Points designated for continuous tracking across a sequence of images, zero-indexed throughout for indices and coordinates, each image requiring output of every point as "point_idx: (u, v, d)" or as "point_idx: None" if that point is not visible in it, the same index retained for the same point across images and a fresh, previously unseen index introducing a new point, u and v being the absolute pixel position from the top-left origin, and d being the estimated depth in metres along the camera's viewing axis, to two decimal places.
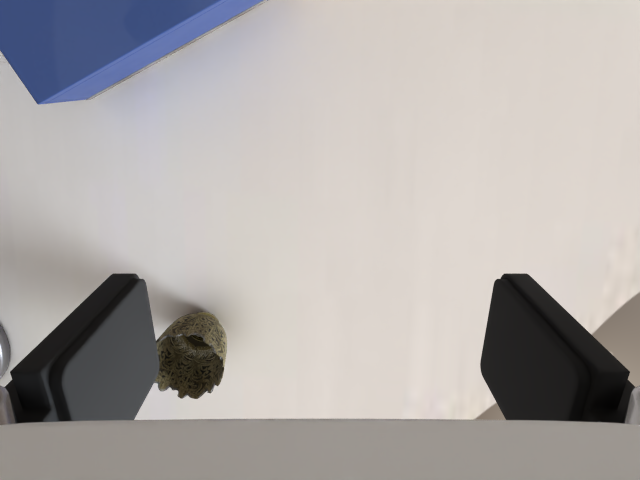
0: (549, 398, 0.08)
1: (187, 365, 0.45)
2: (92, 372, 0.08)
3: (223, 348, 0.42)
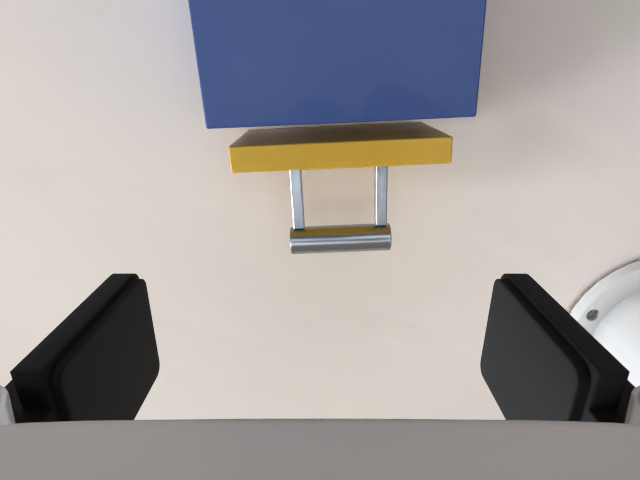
0: (549, 398, 0.08)
1: None
2: (92, 372, 0.08)
3: None
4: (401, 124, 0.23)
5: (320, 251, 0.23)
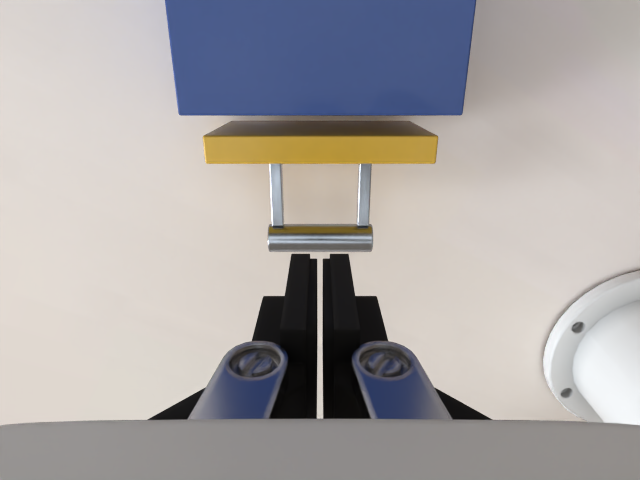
0: None
1: None
2: None
3: None
4: (388, 122, 0.22)
5: (299, 250, 0.22)
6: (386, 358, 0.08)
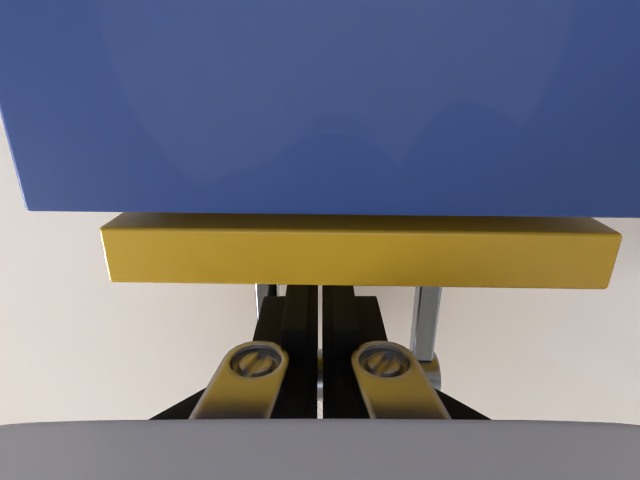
0: None
1: None
2: None
3: None
4: None
5: None
6: (386, 358, 0.08)
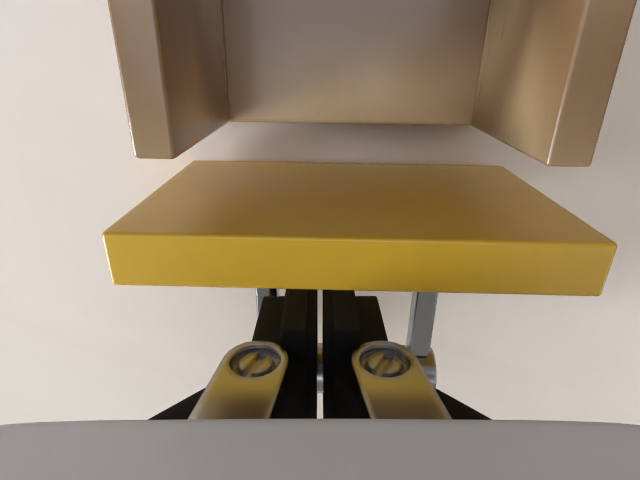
0: (323, 358, 0.09)
1: None
2: (316, 335, 0.09)
3: None
4: (468, 171, 0.13)
5: None
6: (386, 358, 0.08)
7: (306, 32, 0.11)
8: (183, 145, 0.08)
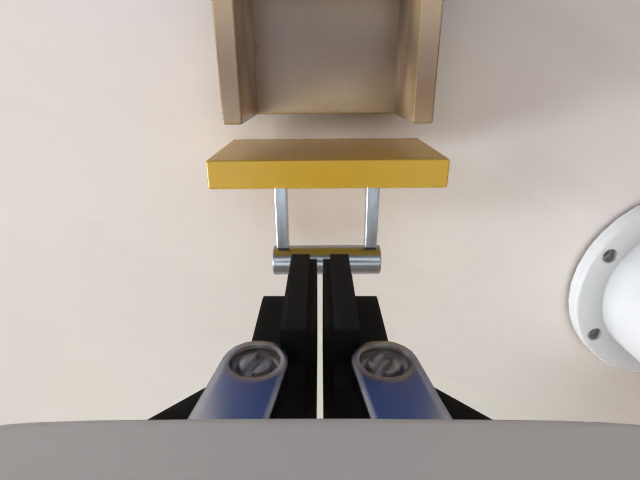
0: None
1: None
2: None
3: None
4: (396, 140, 0.22)
5: None
6: (386, 358, 0.08)
7: (300, 63, 0.20)
8: (244, 118, 0.17)
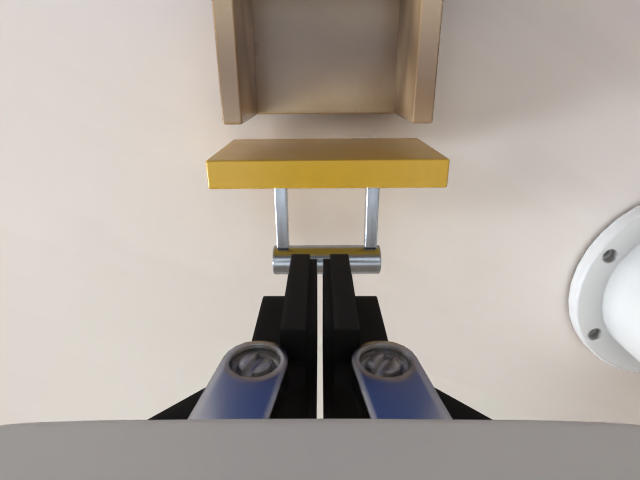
0: None
1: None
2: None
3: None
4: (396, 140, 0.22)
5: None
6: (386, 358, 0.08)
7: (300, 63, 0.20)
8: (244, 118, 0.17)
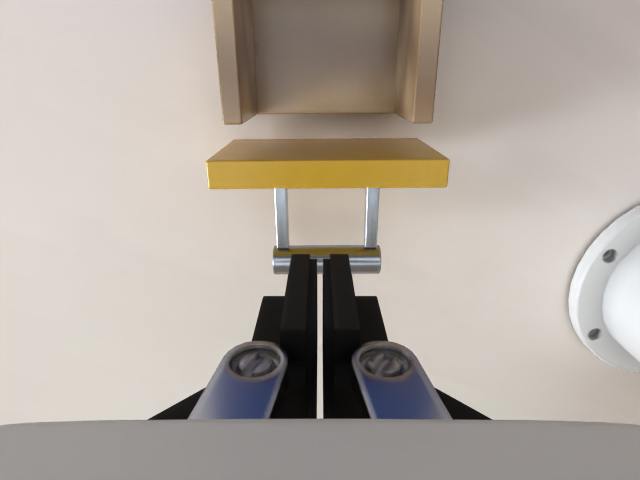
0: None
1: None
2: None
3: None
4: (396, 140, 0.22)
5: None
6: (386, 358, 0.08)
7: (300, 63, 0.20)
8: (244, 118, 0.17)
